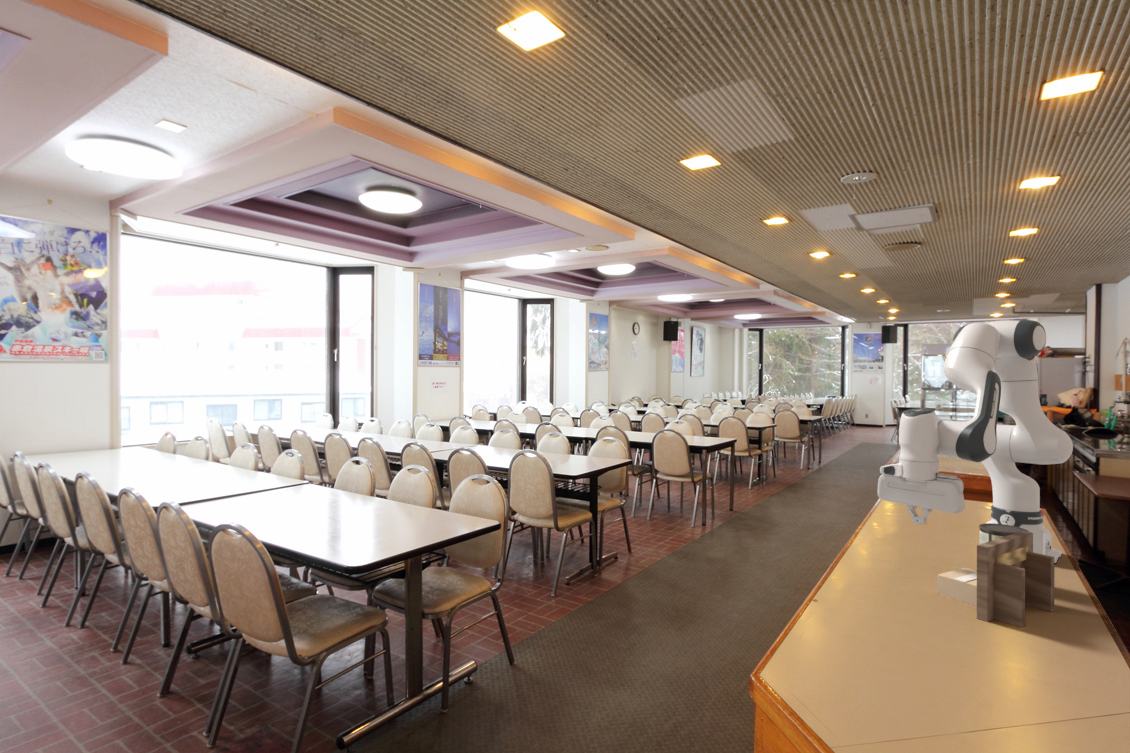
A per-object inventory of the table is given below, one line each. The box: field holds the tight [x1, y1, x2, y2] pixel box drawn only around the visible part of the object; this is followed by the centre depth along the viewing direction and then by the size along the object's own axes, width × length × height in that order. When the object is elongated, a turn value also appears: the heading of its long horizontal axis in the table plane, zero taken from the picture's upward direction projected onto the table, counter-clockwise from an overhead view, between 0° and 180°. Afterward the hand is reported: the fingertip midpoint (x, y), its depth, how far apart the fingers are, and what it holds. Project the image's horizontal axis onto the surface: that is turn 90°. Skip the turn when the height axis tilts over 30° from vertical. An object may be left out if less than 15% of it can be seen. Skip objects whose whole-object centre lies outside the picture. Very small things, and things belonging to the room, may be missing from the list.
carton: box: [936, 567, 977, 607], centre depth 138 cm, size 12×10×5 cm
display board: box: [976, 531, 1055, 628], centre depth 129 cm, size 24×7×16 cm, turn 122°
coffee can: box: [978, 522, 1029, 545], centre depth 148 cm, size 10×10×14 cm
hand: (919, 523), depth 149 cm, fingers closed
